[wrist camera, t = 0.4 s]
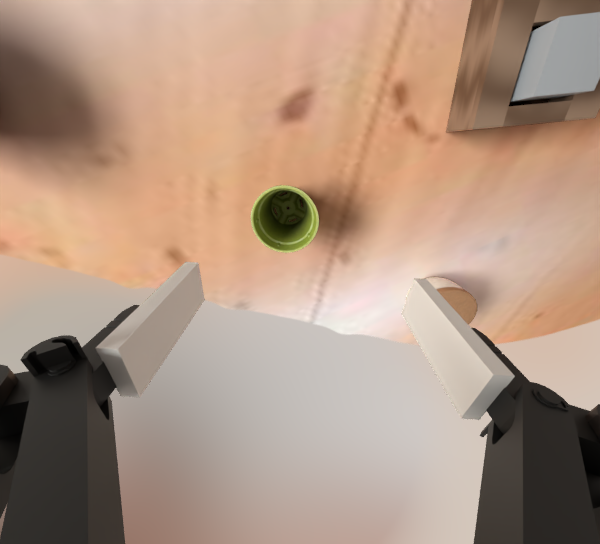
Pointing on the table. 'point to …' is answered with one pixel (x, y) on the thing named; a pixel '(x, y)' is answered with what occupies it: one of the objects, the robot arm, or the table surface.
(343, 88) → the table surface
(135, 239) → the table surface
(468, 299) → the lidded jar
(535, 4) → the key block
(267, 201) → the plant pot
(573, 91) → the slate key
